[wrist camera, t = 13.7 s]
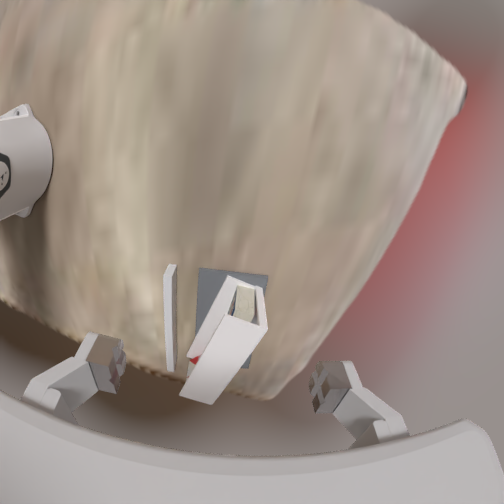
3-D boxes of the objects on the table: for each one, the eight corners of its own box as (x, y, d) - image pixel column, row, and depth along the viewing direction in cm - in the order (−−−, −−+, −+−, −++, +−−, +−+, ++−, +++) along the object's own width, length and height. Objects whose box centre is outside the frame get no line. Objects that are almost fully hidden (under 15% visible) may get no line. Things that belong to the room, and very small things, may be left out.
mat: (194, 360, 49) (194, 363, 48) (199, 267, 40) (199, 269, 40) (248, 366, 50) (248, 368, 49) (267, 275, 41) (268, 277, 41)
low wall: (170, 357, 48) (167, 370, 45) (168, 263, 40) (163, 275, 37) (176, 358, 48) (174, 371, 45) (176, 264, 40) (171, 276, 37)
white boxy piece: (228, 273, 40) (225, 314, 32) (262, 287, 41) (267, 329, 33) (184, 358, 48) (176, 399, 39) (212, 368, 49) (209, 408, 40)
